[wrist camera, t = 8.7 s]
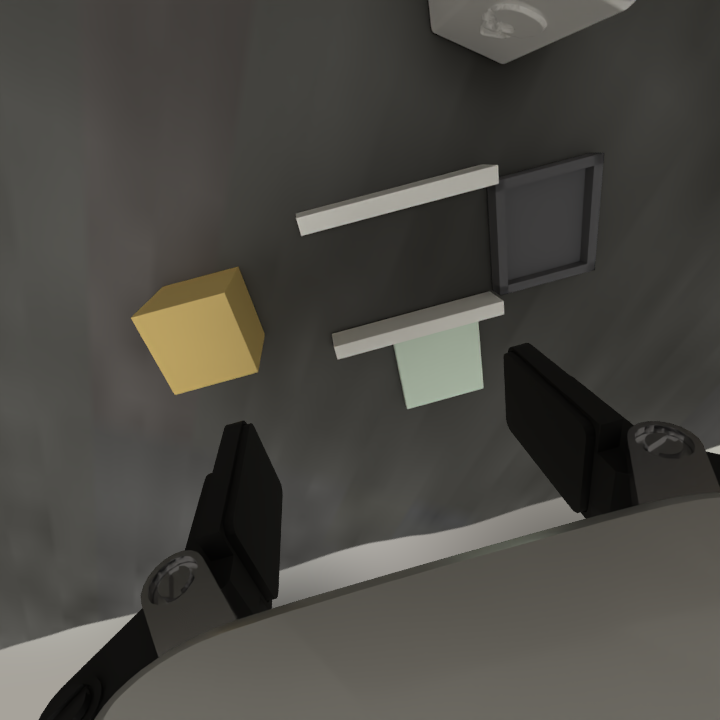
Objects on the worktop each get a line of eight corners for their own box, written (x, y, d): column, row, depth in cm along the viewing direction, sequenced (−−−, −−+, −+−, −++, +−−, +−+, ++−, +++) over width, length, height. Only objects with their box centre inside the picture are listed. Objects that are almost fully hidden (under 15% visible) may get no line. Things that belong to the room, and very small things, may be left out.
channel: (481, 164, 24) (498, 164, 22) (490, 303, 28) (504, 314, 27) (296, 213, 24) (296, 218, 22) (334, 345, 28) (337, 359, 26)
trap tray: (591, 152, 24) (604, 152, 23) (583, 265, 28) (594, 269, 27) (486, 180, 24) (495, 181, 23) (492, 290, 28) (500, 295, 27)
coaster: (474, 314, 29) (477, 316, 28) (480, 384, 32) (483, 388, 31) (391, 336, 29) (393, 340, 28) (405, 405, 32) (407, 409, 31)
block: (238, 266, 25) (224, 292, 20) (264, 334, 27) (258, 372, 22) (163, 286, 25) (130, 317, 20) (196, 352, 27) (174, 394, 22)
